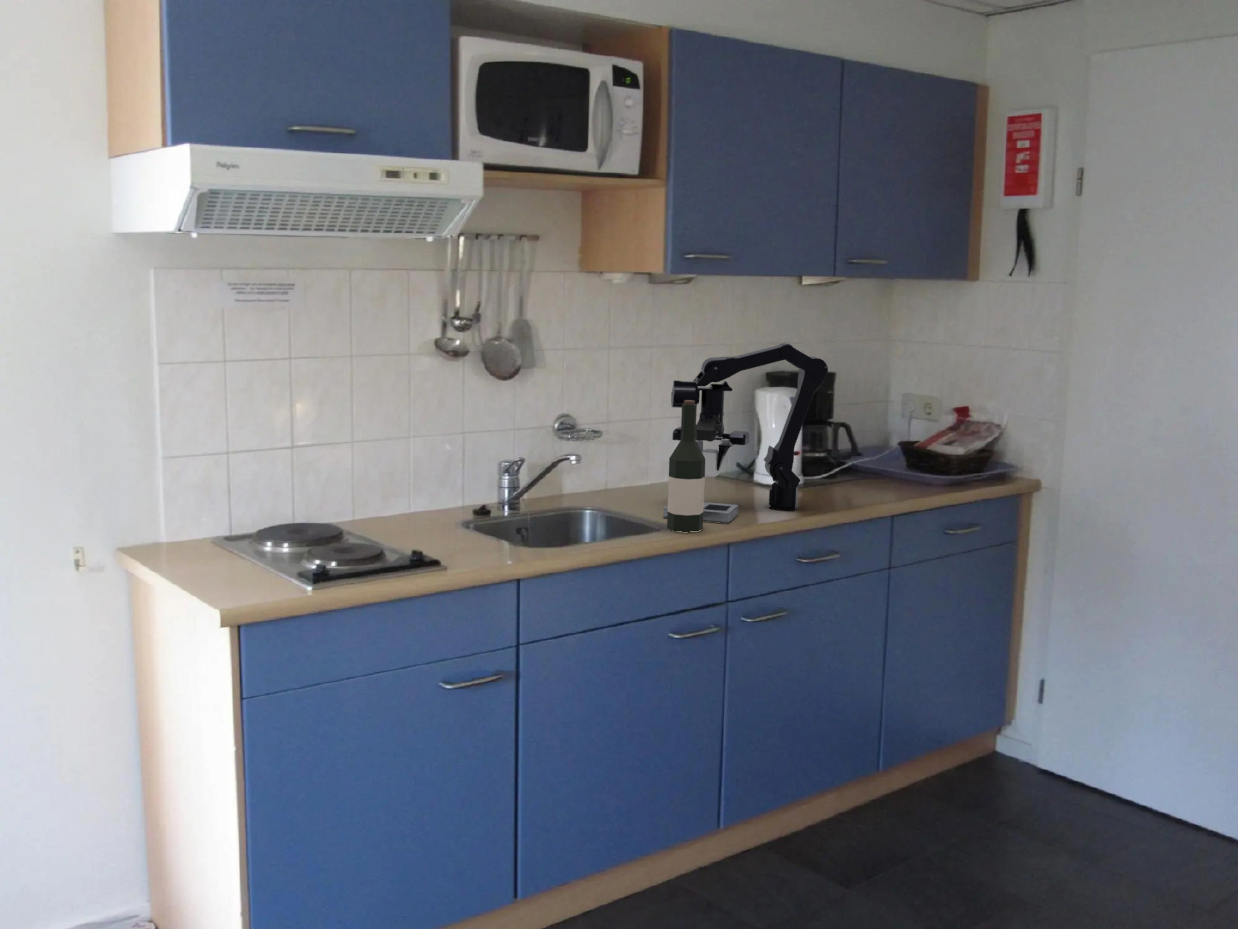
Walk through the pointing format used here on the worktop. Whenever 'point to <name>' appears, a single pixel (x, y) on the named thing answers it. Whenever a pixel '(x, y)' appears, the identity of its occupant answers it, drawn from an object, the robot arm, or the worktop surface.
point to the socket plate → (715, 512)
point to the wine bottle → (686, 477)
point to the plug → (711, 462)
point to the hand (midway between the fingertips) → (709, 469)
